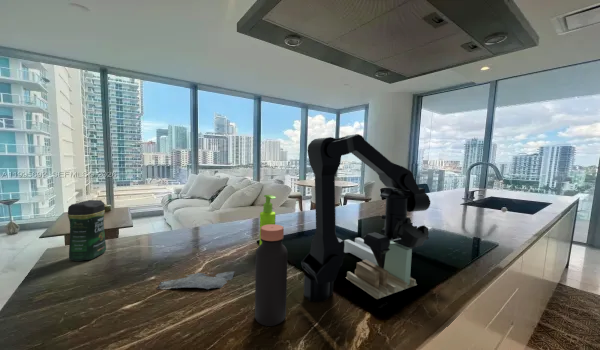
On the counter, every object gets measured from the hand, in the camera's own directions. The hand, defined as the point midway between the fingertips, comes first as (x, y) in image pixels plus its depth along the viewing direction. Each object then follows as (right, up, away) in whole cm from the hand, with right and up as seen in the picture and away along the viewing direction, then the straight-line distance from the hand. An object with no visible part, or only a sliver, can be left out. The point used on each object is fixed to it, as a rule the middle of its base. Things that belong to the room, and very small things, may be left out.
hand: (392, 266), depth 72 cm
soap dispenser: (-39, -2, +24) cm, 46 cm away
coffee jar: (-97, -1, +11) cm, 98 cm away
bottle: (-33, -5, -17) cm, 38 cm away
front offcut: (-9, -4, -5) cm, 10 cm away
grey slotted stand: (-3, -3, +16) cm, 16 cm away
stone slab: (-55, -4, -3) cm, 55 cm away
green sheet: (0, -3, 0) cm, 3 cm away
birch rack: (-4, -4, -2) cm, 6 cm away
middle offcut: (-7, -3, -3) cm, 8 cm away
